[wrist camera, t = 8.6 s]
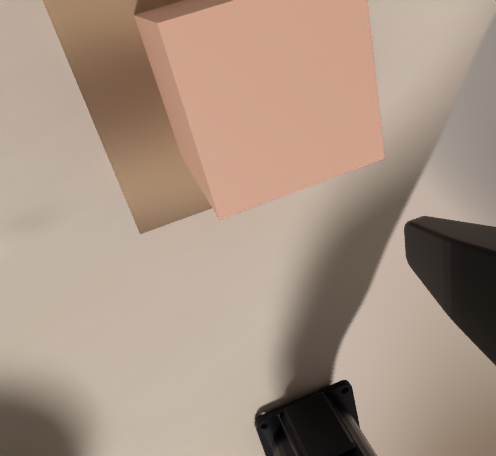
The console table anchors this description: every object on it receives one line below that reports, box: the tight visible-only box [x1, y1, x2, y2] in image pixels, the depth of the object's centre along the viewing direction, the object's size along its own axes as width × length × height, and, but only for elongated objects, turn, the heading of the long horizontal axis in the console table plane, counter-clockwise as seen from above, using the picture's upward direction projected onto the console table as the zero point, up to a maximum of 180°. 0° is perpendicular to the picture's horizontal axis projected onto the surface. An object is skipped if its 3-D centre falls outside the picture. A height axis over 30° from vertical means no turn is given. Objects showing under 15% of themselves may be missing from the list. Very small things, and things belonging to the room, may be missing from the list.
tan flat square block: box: [43, 0, 212, 234], centre depth 18 cm, size 10×10×3 cm
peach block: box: [134, 0, 385, 220], centre depth 14 cm, size 5×5×6 cm
